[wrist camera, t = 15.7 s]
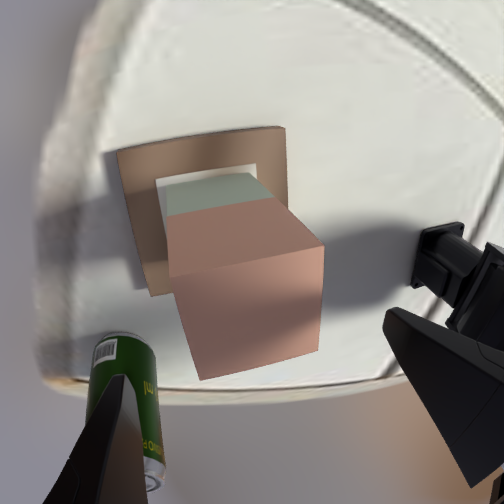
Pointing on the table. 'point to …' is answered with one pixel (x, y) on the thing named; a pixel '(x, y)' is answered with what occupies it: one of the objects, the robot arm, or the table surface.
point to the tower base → (189, 169)
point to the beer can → (145, 386)
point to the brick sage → (213, 193)
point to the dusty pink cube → (245, 285)
